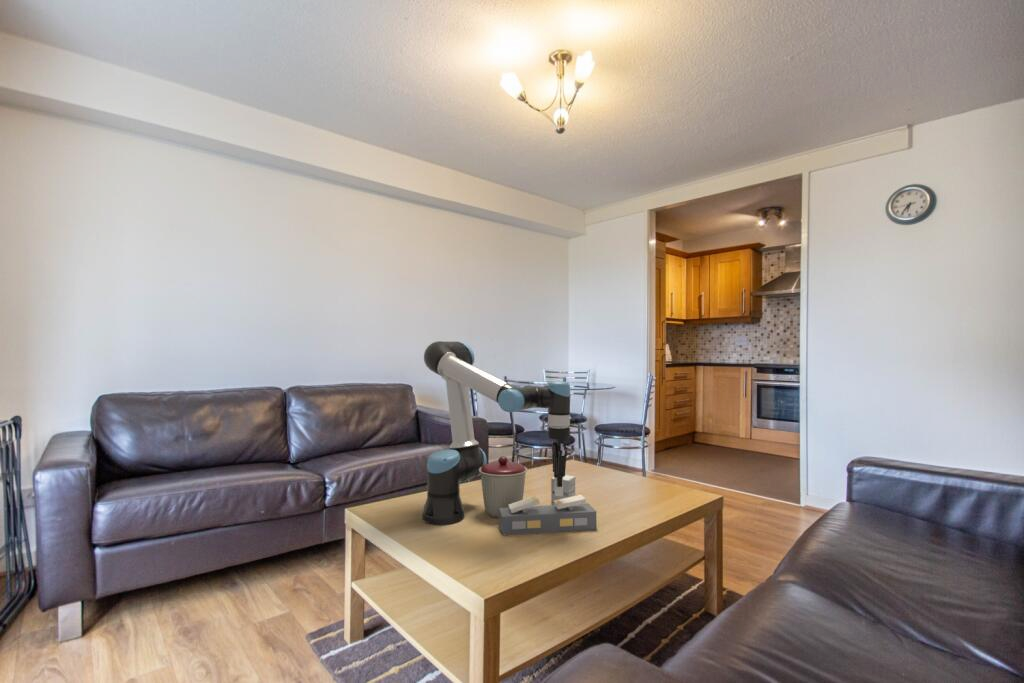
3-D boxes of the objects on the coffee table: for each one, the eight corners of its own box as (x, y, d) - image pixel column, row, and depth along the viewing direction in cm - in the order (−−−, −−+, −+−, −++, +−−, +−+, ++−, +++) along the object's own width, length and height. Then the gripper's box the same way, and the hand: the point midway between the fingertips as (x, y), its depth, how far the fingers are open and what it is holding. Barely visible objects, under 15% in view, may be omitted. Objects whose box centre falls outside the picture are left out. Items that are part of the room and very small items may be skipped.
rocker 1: (511, 513, 158) (510, 508, 158) (509, 508, 163) (508, 504, 163) (539, 503, 159) (538, 499, 159) (536, 499, 164) (535, 494, 164)
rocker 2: (557, 509, 160) (557, 504, 160) (554, 504, 165) (553, 500, 165) (586, 502, 161) (585, 498, 161) (581, 498, 166) (581, 494, 166)
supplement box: (550, 511, 178) (550, 477, 178) (558, 506, 184) (557, 473, 185) (569, 514, 174) (568, 480, 175) (576, 508, 181) (575, 475, 181)
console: (502, 535, 155) (502, 512, 155) (499, 525, 164) (499, 503, 164) (596, 529, 159) (596, 507, 160) (588, 520, 168) (588, 499, 169)
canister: (522, 523, 165) (522, 463, 166) (473, 520, 169) (472, 460, 170) (531, 507, 183) (530, 452, 184) (485, 504, 187) (485, 450, 187)
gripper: (574, 429, 157) (574, 500, 157) (564, 423, 170) (564, 489, 170) (552, 429, 156) (552, 501, 156) (544, 423, 169) (543, 490, 169)
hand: (558, 495), depth 163 cm, fingers closed
